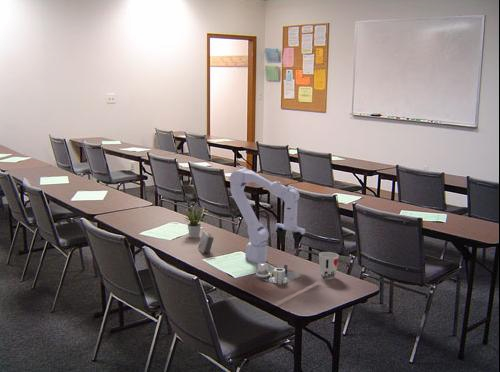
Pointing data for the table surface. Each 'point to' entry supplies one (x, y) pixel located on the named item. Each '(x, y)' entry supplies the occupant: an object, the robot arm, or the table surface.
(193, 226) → the house plant
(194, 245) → the table surface
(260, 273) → the silver rounded piece
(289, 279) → the carrier
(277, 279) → the gear
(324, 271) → the cup
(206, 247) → the electrical switch
